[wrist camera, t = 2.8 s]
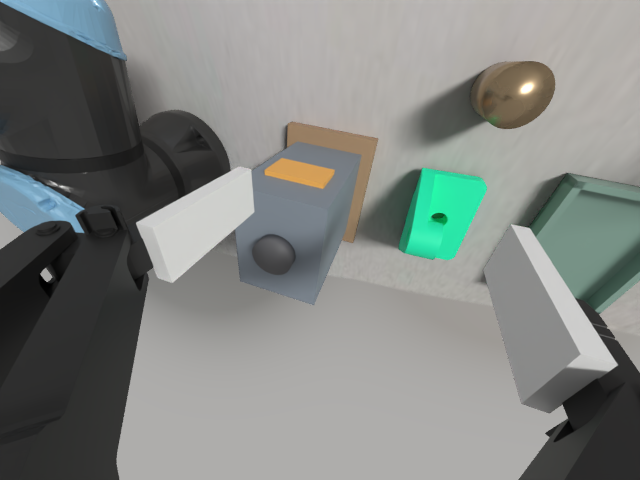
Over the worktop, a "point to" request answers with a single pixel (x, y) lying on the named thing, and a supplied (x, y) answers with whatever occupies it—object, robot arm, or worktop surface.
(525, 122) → the cylinder
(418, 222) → the camera mount
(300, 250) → the mounted unit
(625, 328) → the worktop surface
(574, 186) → the parts tray
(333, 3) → the worktop surface
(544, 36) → the worktop surface
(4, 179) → the robot arm
